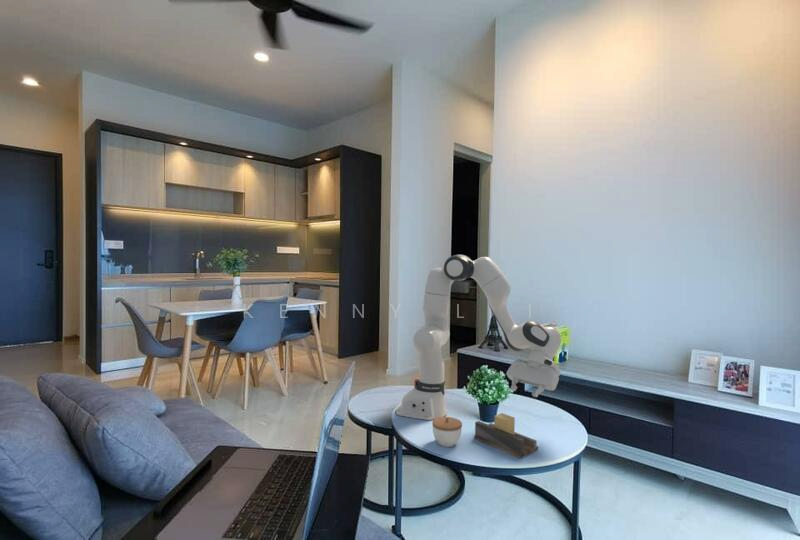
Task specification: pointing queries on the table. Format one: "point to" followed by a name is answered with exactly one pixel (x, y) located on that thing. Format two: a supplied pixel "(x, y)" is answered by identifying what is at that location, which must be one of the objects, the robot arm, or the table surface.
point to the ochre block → (505, 423)
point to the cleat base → (504, 440)
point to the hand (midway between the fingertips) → (523, 392)
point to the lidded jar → (447, 430)
